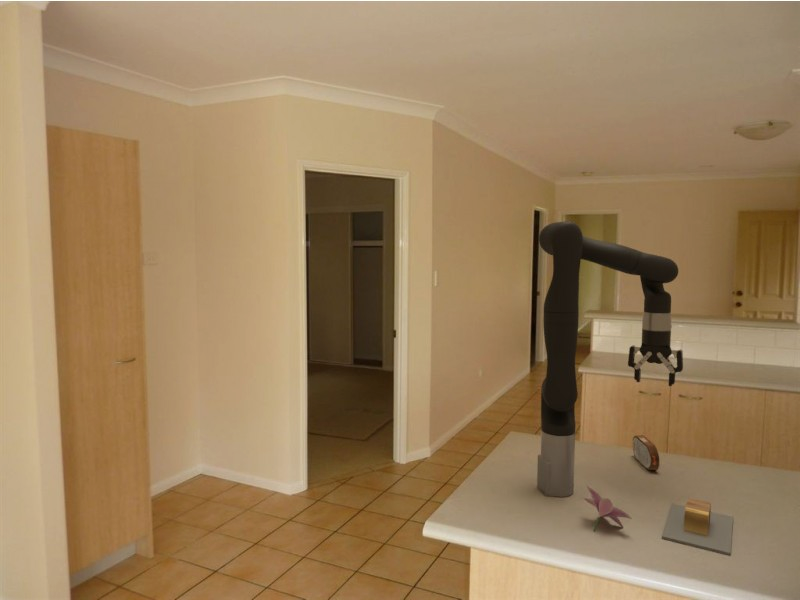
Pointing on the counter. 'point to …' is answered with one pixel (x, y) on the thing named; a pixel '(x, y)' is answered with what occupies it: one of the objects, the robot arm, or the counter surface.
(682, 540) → the mat
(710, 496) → the counter surface
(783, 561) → the counter surface
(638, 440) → the tin
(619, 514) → the lily
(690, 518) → the block
